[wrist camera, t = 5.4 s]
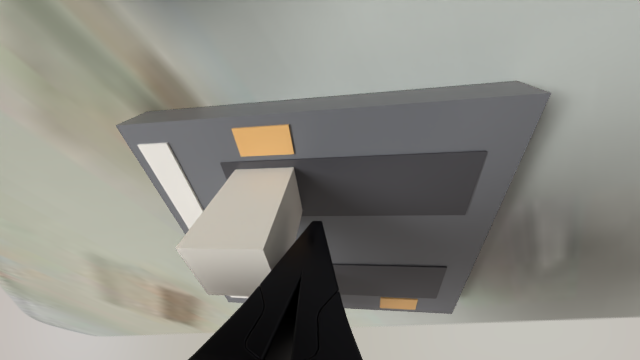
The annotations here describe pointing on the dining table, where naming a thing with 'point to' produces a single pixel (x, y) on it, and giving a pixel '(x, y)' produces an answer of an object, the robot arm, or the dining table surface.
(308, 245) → the robot arm
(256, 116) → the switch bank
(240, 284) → the switch tab
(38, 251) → the dining table surface
